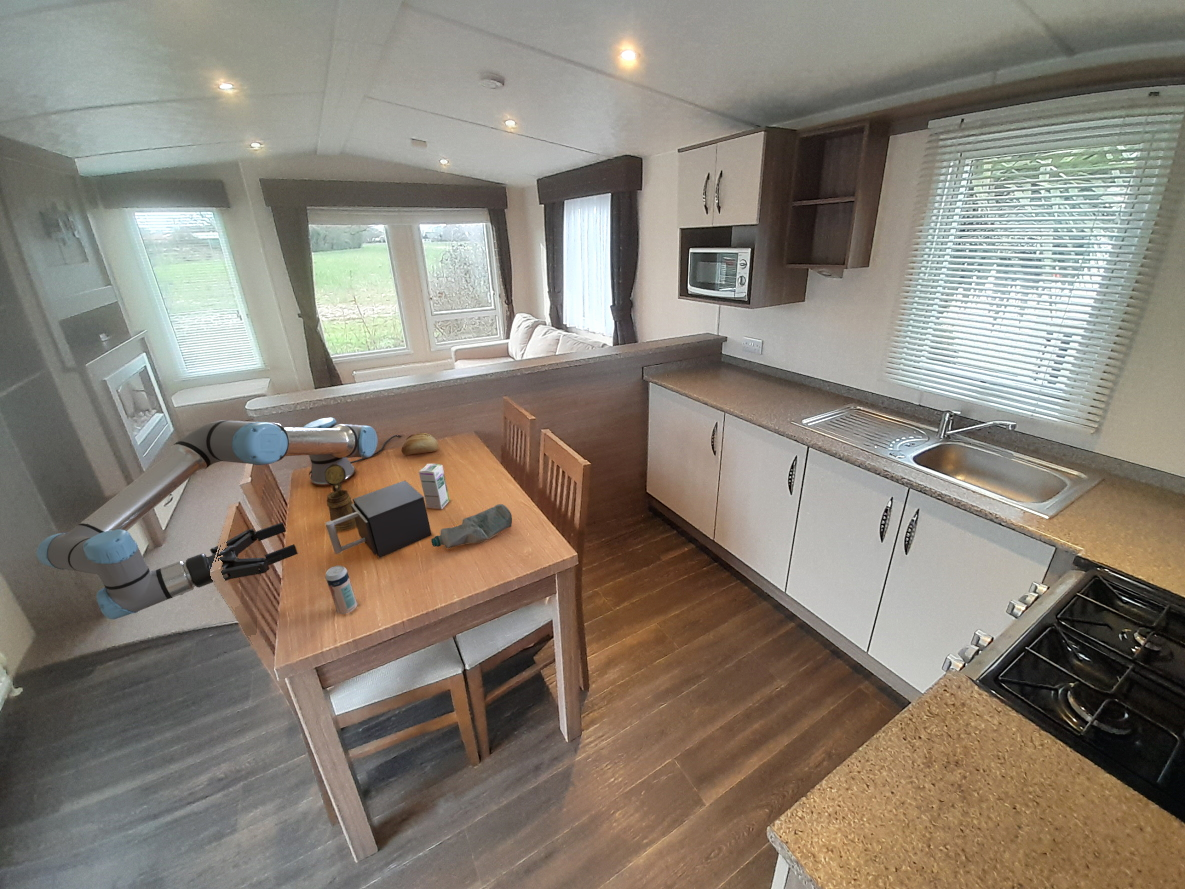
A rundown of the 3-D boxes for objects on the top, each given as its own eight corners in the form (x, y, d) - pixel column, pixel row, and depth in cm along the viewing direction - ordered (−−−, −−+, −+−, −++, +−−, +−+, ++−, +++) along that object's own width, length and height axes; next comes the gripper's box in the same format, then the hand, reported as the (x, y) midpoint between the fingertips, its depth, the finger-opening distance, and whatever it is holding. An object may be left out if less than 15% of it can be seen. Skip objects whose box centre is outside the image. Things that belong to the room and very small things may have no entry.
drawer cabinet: (379, 558, 138) (368, 517, 132) (363, 537, 147) (352, 498, 141) (431, 535, 147) (423, 496, 141) (413, 517, 157) (405, 480, 151)
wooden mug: (361, 506, 164) (348, 460, 156) (361, 527, 152) (347, 478, 145) (333, 513, 161) (318, 465, 153) (330, 534, 149) (314, 484, 142)
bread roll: (402, 451, 204) (398, 434, 200) (438, 444, 209) (435, 427, 205) (403, 460, 195) (399, 442, 192) (440, 453, 200) (437, 436, 197)
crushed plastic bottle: (501, 513, 157) (426, 539, 144) (500, 495, 154) (423, 520, 141) (520, 534, 148) (440, 564, 135) (519, 516, 144) (437, 545, 132)
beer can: (341, 602, 122) (329, 565, 117) (360, 600, 122) (349, 563, 117) (333, 616, 118) (320, 578, 113) (353, 614, 118) (341, 576, 113)
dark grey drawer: (343, 569, 132) (332, 534, 127) (330, 548, 141) (319, 514, 136) (426, 533, 146) (418, 500, 141) (408, 516, 155) (401, 485, 150)
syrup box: (442, 509, 160) (434, 472, 154) (426, 508, 162) (418, 470, 155) (449, 500, 166) (443, 463, 159) (434, 499, 167) (427, 462, 160)
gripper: (191, 562, 124) (283, 529, 136) (201, 614, 107) (305, 571, 119) (180, 538, 121) (275, 507, 133) (188, 588, 104) (297, 546, 116)
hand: (290, 537), depth 126 cm, fingers open, 13 cm apart
